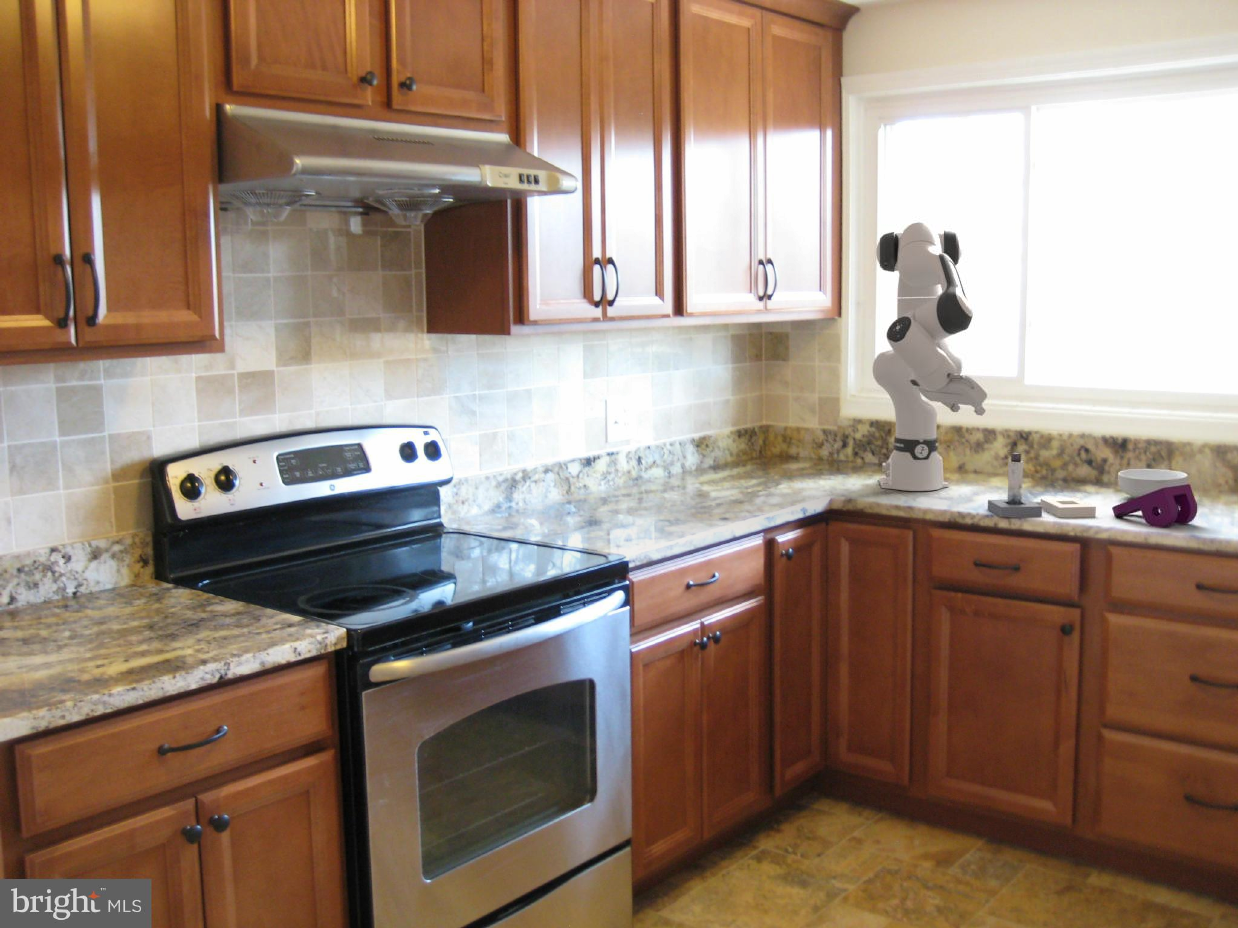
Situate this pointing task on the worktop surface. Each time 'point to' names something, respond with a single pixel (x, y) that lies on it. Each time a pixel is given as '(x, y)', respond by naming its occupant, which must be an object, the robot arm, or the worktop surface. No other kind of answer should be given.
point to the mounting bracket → (1162, 506)
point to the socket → (1015, 508)
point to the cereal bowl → (1149, 480)
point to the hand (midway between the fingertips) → (969, 411)
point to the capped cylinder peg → (1015, 480)
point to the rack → (1068, 507)
